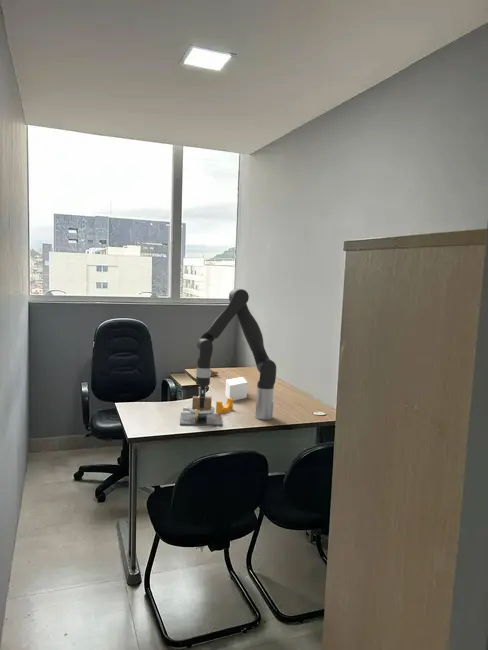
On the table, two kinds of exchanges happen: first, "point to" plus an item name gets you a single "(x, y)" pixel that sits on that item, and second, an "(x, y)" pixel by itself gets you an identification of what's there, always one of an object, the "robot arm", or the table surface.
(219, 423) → the post base
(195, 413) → the dowel pin
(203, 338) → the robot arm
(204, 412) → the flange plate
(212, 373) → the tan irregular piece
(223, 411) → the pipe clamp
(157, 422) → the table surface
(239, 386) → the white block
